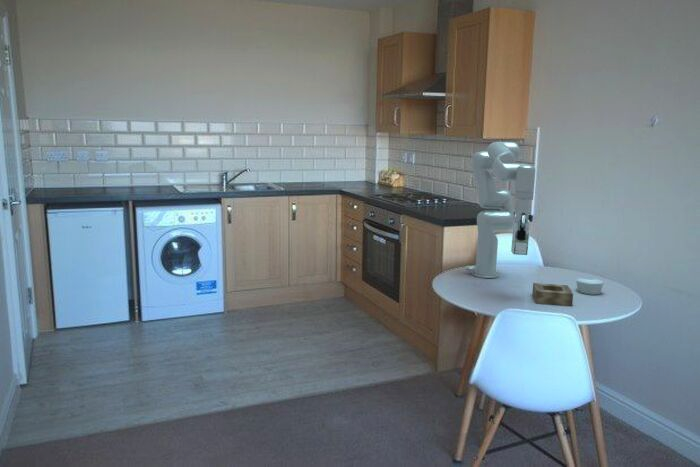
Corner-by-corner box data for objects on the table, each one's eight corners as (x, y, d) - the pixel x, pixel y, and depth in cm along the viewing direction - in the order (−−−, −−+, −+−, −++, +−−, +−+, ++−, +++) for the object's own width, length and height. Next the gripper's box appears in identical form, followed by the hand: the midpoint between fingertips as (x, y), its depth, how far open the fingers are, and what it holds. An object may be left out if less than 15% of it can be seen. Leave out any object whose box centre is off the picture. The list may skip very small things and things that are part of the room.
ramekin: (595, 289, 263) (596, 277, 262) (607, 295, 252) (608, 284, 251) (571, 288, 263) (572, 277, 262) (581, 295, 252) (582, 283, 251)
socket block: (535, 303, 238) (536, 291, 237) (532, 294, 252) (533, 282, 251) (572, 305, 235) (573, 293, 235) (566, 296, 249) (567, 285, 248)
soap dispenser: (524, 252, 248) (527, 218, 245) (527, 255, 242) (530, 220, 240) (511, 251, 249) (513, 218, 246) (513, 254, 243) (516, 220, 240)
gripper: (512, 192, 250) (509, 234, 253) (515, 197, 233) (512, 241, 237) (531, 193, 249) (527, 235, 252) (535, 198, 232) (531, 243, 235)
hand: (520, 238), depth 244 cm, fingers closed on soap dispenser, 6 cm apart
